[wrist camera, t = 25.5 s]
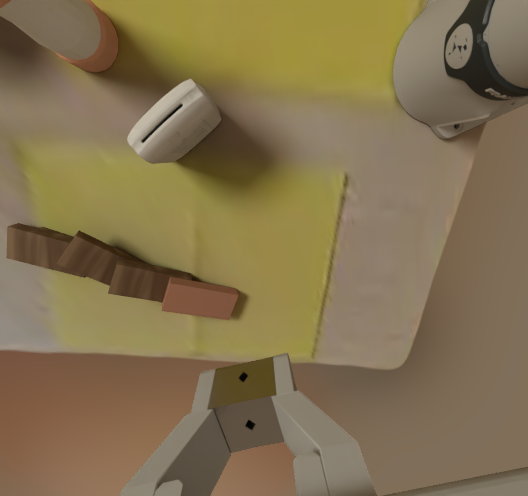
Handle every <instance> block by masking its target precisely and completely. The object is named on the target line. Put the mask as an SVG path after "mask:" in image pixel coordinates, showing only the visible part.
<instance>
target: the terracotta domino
mask: <svg viewBox="0 0 528 496" xmlns="http://www.w3.org/2000/svg"><path fill="white" fill-rule="evenodd" d="M238 296H239V294H238V292H237V289H235V288H229V287H224V286H219V285H213V284H208V283H202V282H197V281H191V280H186V279H181V278H175V277H170V280H169V283H168V286H167V290H166V293H165V296H164V299H163V303H162V311H166V312H174V313H181V314H189V315H196V316H204V317H211V318H219V319H226V320H229V318H230V316H231V313H232V311H233V308H234V306H235V303H236V301H237V298H238Z"/></svg>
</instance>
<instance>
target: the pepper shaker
mask: <svg viewBox="0 0 528 496" xmlns="http://www.w3.org/2000/svg"><path fill="white" fill-rule="evenodd" d="M0 16H1V17H3V18H5V19H6V20H8V21H10V22H12V23H13V24H14V25H16V26H17V27H18V28H19V29H21V30H22V31H23V32H25V33H26V34H27V35H28V36H30V37H31V38H32V39H33V40H35V41H36V42H37V43H39V44H40V45H42V46H44V47H46V48H48V49H50V50H52V51H53V52H55V53H56V54H57V55H58V56H59V57H60V58H61V59H63V60H65V61H67V62H69V63H71V64H73V65H75V66H77V67H79V68H81V69H83V70H85V71H89V72H101V71H104V70H106V69H107V68H109V67H111V65H112V64H113V63H114V61H115V60H116V57H117V54H118V37H117V33H116V30H115V28H114V26H113V24H112V23H111V21H110V19H109V18H108V17H107V16H106V15H105V14H104V13H103V12H102V11H101V10H100V9H99V8H98V7H97V6H96V5H95V4H94V3H92V2H91V1H90V0H0Z"/></svg>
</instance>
